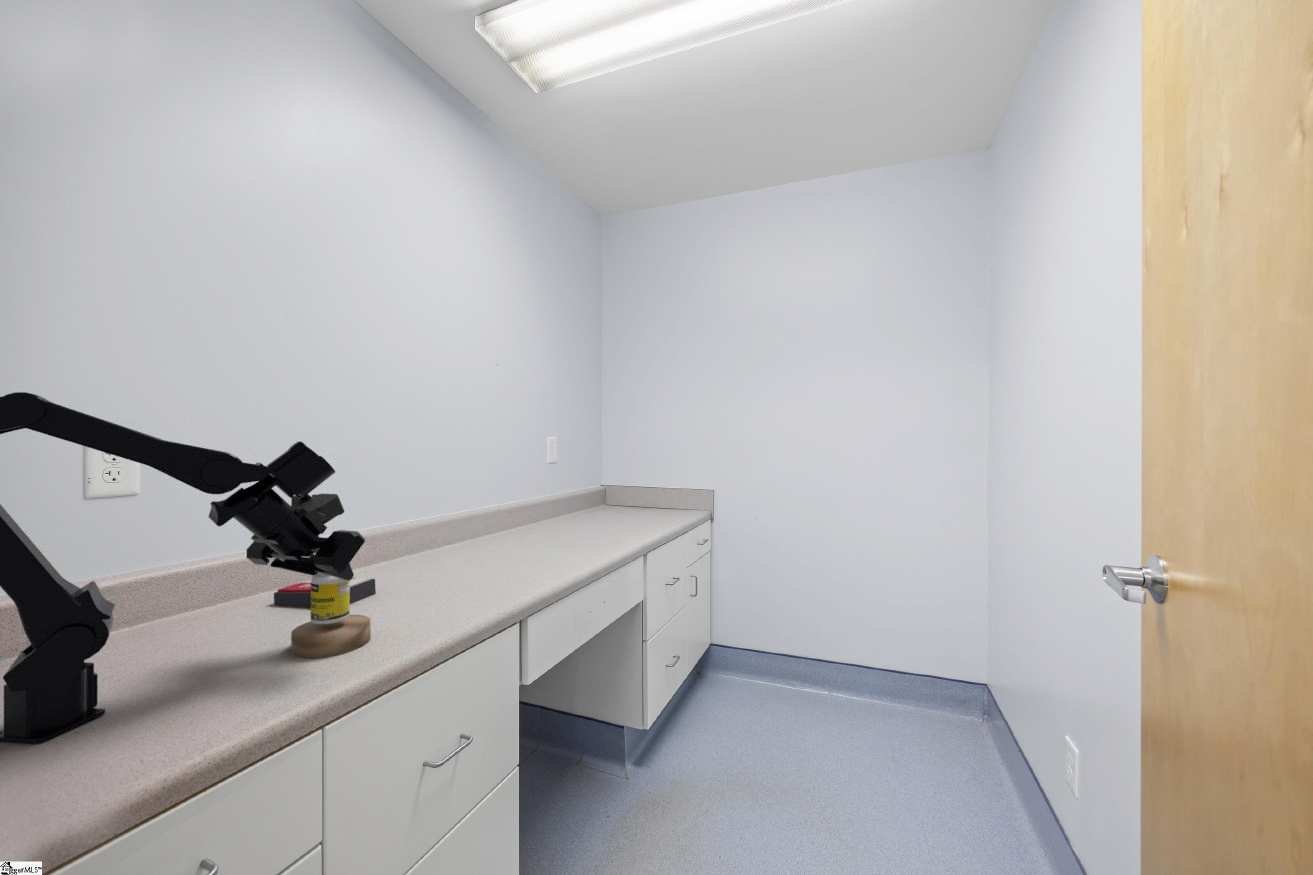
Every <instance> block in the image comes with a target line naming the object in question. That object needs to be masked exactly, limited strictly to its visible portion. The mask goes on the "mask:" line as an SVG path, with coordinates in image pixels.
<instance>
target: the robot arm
mask: <svg viewBox="0 0 1313 875" xmlns="http://www.w3.org/2000/svg"><path fill="white" fill-rule="evenodd" d="M24 429H27V430H30V431H34V432H37V433H41V434H43V435H47V436H50V437H54V438H56V439H59V440H63V441H66V442H70V443H73V444H77V445H80V446H84V447H87V448H89V449H93V450H96V451H99V452H102V453H105V454H110V455H112V456H116V457H118V458H123V459H126V460H129V461H133V462H135V463H138V464H142V465H146V466H148V467H150V468H152V469H155V470H156V471H158V472H161V473H163V474H165V475H167V476H169V477H171V478H173V479H175V480H177V481H180V482H181V483H183V484H185V485H188V486H190V487H192V488H194V489H196V490H198V491H200V492H203V493H206V494H209V495H222V494H226V493H229V492H232V491H233V490H235V489H237V488H238V487H239V486H240V485H241V484H248V483H253V482H254V484H252V485H249V486H247V487H245V488H243V487H240V488H239V489H238V490H236V491H235V492H234V493H232V494H231V495H229V496H228V497H226V498H225V499H223V500H219V501H214V500H213V501H211V502H210V510H209V514H208V518H209V519H210V520H211V521H212V522H213V523H214V524H215V525H216V526H217V527H222V526H224V525H225V524H227V523H228V522H229V521H231V520H232V519H235V521H237V522H238V523H240V525H242V526H243V527H244V528H246V529H247V530H248V531H249V532H251V533H252V534H253V535H252V536H251V538H250V540H252V543H251V544H250V545H249V546H248V547H247V548H246V559H248V560H249V561H250V562H252V563H253V564H254V565H259V566H260V565H262V566H267V565H268V564H270V567H271V568H276V569H280V570H284V571H290V572H295V573H300V574H305V575H309V576H312V577H313V576H314V575H315V574H317V573H322V574H326V575H329V576H333V577H337V578H340V579H344V580H349V581H350V580H351V579H352V577H355V576H354V575H355V574H354V571H353V569H352V566H351V564H350V563H351V562H352V560H353V559H354V558H355V556H356V555H357V554H358V552H359V550H360V549H361V548H362V546H363V545H364V543H365V542H366V538H365V537H364V536H363V535H362V534H361V533H360V532H359V531H357V530H356V531H355V530H345V529H343V530H342V529H340V530H335V531H333V532H332V533H331V534H330V535H329V536H328V537H320V535H323V534H324V533H325V532H326V530H327V529H328V527H327V526H326V525H325V524H327V523H328V522H330V521H332V520H333V519H335V518H336V517H339V516H341V515H343V514H344V513H345V509H344V506H343V505H342V501H341V500H340V497H339V494H337V493H319V494H312V495H310V494H309V493H311V492H312V491H314V490H315V489H316V488H318V487H319V486H320V485H321V484H323V483H324V482H325V481H326V480H328V479H329V478H330V477H332V475H334V474H336V470H335V469H334V467H333V466H332V465H331V464H330V463H329V462H328V461H327V460H326V458H324V457H323V456H322V455H319V454H318V453H316V452H315V451H314V450H312V449H311V448H310V447H308V446H307V444H305V443H304V442H303V441H296V442H294V443H293V444H292V445H291V446H290V447H289V448H288V449H287V450H286V451H285V452H283V453H282V454H280V455H279V456H278V457H276V458H275V459H274V460H272V461H271V462H269V463H268V464H267V465H264V464H263V463H261V462H256V463H248V462H243V461H242V460H241V459H240V458H239V457H238V456H236V455H234V454H232V453H230V452H227V451H221V450H216V449H210V448H206V447H202V446H201V447H200V446H195V445H190V444H185V443H179V442H174V441H170V440H169V441H168V440H164V439H162V438H159V437H155V436H154V435H153V436H152V435H149V434H147V433H144V432H141V431H138V430H135V429H131V428H129V427H125V426H122V425H119V424H116V423H114V422H111V421H108V420H105V419H103V418H99V417H96V416H92V415H90V414H88V413H84V412H82V411H78V410H75V409H71V408H70V407H67V406H66V407H65V406H63V405H60V404H57V403H54V402H52V401H50V400H48V399H47V398H45V397H42V396H40V395H38V394H34V393H32V392H31V393H30V392H26V391H24V392H23V391H22V392H21V391H19V392H18V391H17V392H12V393H11V392H10V393H7V394H5V395H3V396H0V435H3V434H7V433H11V432H14V431H19V430H24ZM274 487H276V488H278V489H279V490H280V491H281V492H282V493H283V494H285V495H286V496H287V497H288V498H290V499H291V501H290V502H291V504H289V503H288V502H287V501H286V500H285V499H284V498H283V497H281V495H279V493H277V492H276V491H275V490H274V489H273V488H274ZM270 559H271V560H272V562H271V563H270ZM316 566H317V568H316ZM0 588H1V589H2V590H3V592H5V594H6V595H7V596H8V597H9V598H10V599H11V600H12V601H13V603H14V604H15V607H16V608H17V612H18V615H19V618H20V621H21V625H22V627H23V631H24V633H25V635H26V637H27V639H28V641H29V643H30V645H28V646H27V647H26V648H24V649H23V650H22V651H20V653H19V654H18V655H17V657H16V658H15V660H14V661H13V662H12V664H11V666H10V667H9V668H8V669H7V671H6V672H5V673H4V675H3V676H2V679H3V681H4V682H5V684H4V685H3V730H0V742H1V741H2V742H15V743H30V744H31V743H33V744H38V743H42V742H45V741H47V740H49V739H51V738H53V737H56V736H58V735H61V734H62V733H65V732H67V731H69V730H72V729H74V728H76V727H78V726H81V725H82V724H85V723H87V722H89V721H91V720H94V719H95V718H98V717H100V716H103V715H104V714H106V708H98V703H99V700H98V698H99V697H98V691H99V689H98V686H99V684H98V683H99V681H98V680H99V679H98V676H99V675H98V673H97V672H95V662H87V661H86V660H88V659H90V658H92V657H93V656H95V655H96V654H97V653H99V652H101V650H102V649H103V648H104V647H105V645H106V644H107V641H108V640H109V637H110V634H111V632H112V631H111V630H112V627H113V625H114V615H113V612H114V609H115V606H116V604H115V603H113V602H111V601H109V600H107V599H106V598H105V597H104V596H103V595H102V593H101V591H100V589H99V586H98V585H97V583H96V581H94V580H92V581H90V582H89V583H87V584H85V585H84V586H82V587H80V586H79V587H78V586H77V585H76V584H74V583H72V582H70V581H69V580H67V579H65V578H63V576H62V575H61V574H60V573H59V571H57V569H56V568H55V567H54V566H53V564H52V563H51V562H50V561H49V560H48V559H47V557H45V555H44V554H43V553H42V552H41V551H40V549H39V548H38V547H37V545H35V543H34V542H33V541H32V540H31V539H30V537H29V536H28V535H27V534H26V533H25V531H24V530H23V529H22V528H21V527H20V526H19V524H18V523H17V522H16V521H15V519H14V518H12V516H11V515H10V514H9V513H8V511H7V510H6V509H5V508H4V507H3V505H2V504H1V503H0ZM85 661H86V662H85Z"/></svg>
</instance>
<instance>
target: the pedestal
mask: <svg viewBox="0 0 1313 875" xmlns="http://www.w3.org/2000/svg"><path fill="white" fill-rule="evenodd" d="M371 625H372V624H371V618H370V617H369V616H367V615H363V614H349V616H348V618H346V619H345V620H342V621H340V622H336V623H331V624H314V623H312V622H311V620H310V621H307V622H305V623H302V624H300V625H299V626H296V627H295V628H294V629H292V630H291V637H290V640H291V642H290V643H291V644H290V648H291V649H290V650H291V651H290V652H291V655H292V656H293V657H296V658H300V659H320V658H328V657H333V656H338V655H343V654H346V653H348V652H349V653H350V652H353V651H355V650H358V649H360V648H362V647H364V646H365V645H366V644H368V643H369V642H371V636H372V635H371V630H372V629H371Z"/></svg>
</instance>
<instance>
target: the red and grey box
mask: <svg viewBox="0 0 1313 875" xmlns="http://www.w3.org/2000/svg"><path fill="white" fill-rule="evenodd" d="M311 579H312V578H310V579H306V580H304V581H300V582H299V583H294V584H291V585H288V586H284V587H281V588H278V589H277V591H275V592H274V593H273V604H274V605H279V606H278V607H286V606H289V608H311ZM376 590H377V588H376V579H375V578H372V577H356V576H353V577H352V579H351V580H350V602H349V603H350V604H349V606H350V605H352V604H355V603H358V602H360V601H362V600H365V599H366V598H369V597H371V596H374V595H376V594H377V593H376V592H377V591H376ZM290 606H291V607H290Z"/></svg>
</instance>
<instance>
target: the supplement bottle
mask: <svg viewBox="0 0 1313 875" xmlns="http://www.w3.org/2000/svg"><path fill="white" fill-rule="evenodd" d="M316 568H317V566H316ZM310 579H311V607H310V621H311V622H312V623H314V624H331V623H336V622H340V621H342V620H345V619H346V618H348V616H349V615H350V605H351V604H350V603H349V602H350V581H349V580H344V579H340V578H337V577H333V576H329V575H326V574H322V573H317V574H315V575H314V576H313V575H312V577H311V578H310ZM349 604H350V605H349Z"/></svg>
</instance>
